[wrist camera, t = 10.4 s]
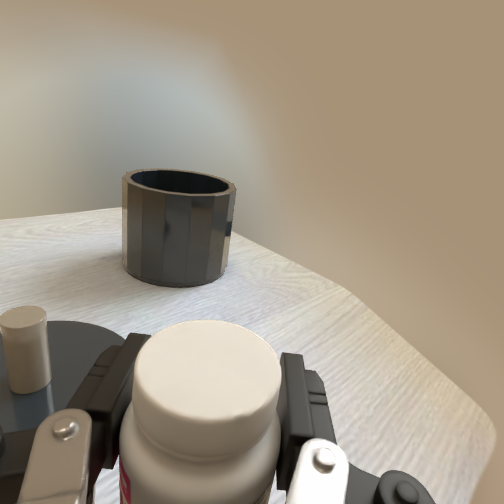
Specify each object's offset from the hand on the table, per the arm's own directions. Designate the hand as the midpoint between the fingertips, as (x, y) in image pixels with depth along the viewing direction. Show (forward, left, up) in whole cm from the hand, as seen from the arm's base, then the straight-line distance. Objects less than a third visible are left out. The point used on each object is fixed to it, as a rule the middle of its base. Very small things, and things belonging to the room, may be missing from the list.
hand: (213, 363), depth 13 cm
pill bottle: (0, +3, -6) cm, 7 cm away
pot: (+2, -31, -11) cm, 33 cm away
